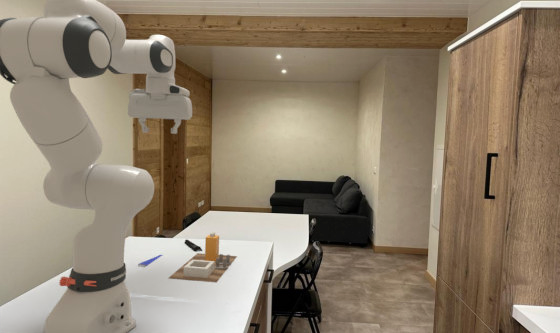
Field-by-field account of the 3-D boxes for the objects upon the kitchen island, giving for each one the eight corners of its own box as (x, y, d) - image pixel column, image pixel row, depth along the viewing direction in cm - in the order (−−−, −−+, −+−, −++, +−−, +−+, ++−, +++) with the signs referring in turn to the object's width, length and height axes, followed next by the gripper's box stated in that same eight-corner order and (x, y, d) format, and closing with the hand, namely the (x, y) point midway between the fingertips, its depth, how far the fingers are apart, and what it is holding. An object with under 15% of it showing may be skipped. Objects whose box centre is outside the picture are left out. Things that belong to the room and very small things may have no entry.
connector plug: (215, 262, 136) (216, 234, 135) (204, 261, 136) (205, 234, 136) (218, 258, 140) (219, 232, 139) (208, 258, 140) (209, 231, 140)
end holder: (207, 278, 120) (207, 268, 120) (183, 276, 121) (183, 267, 120) (214, 269, 128) (214, 261, 127) (192, 268, 129) (192, 259, 128)
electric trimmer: (190, 245, 162) (190, 238, 162) (203, 254, 149) (203, 246, 149) (182, 246, 160) (182, 239, 160) (194, 255, 147) (194, 248, 147)
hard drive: (157, 266, 129) (178, 257, 141) (138, 263, 132) (160, 254, 143) (156, 271, 129) (177, 261, 141) (137, 267, 132) (160, 258, 144)
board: (216, 286, 116) (216, 271, 116) (167, 281, 118) (168, 267, 118) (236, 259, 144) (237, 247, 144) (197, 256, 146) (197, 244, 146)
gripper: (124, 87, 115) (123, 131, 116) (187, 88, 113) (186, 133, 114) (134, 90, 121) (133, 132, 122) (194, 91, 119) (193, 134, 120)
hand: (159, 133), depth 118 cm, fingers open, 8 cm apart
